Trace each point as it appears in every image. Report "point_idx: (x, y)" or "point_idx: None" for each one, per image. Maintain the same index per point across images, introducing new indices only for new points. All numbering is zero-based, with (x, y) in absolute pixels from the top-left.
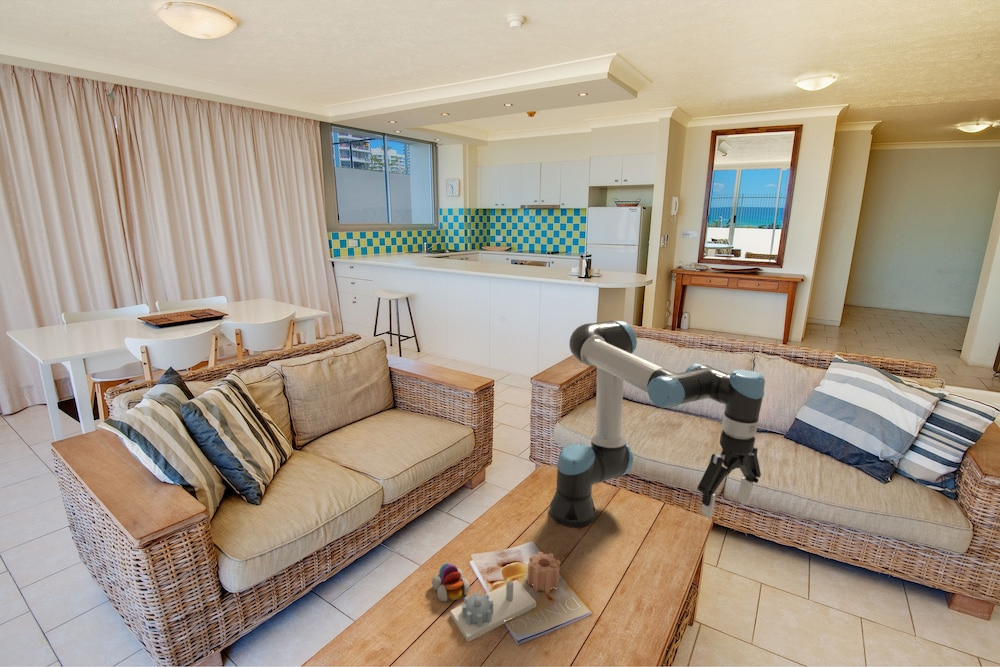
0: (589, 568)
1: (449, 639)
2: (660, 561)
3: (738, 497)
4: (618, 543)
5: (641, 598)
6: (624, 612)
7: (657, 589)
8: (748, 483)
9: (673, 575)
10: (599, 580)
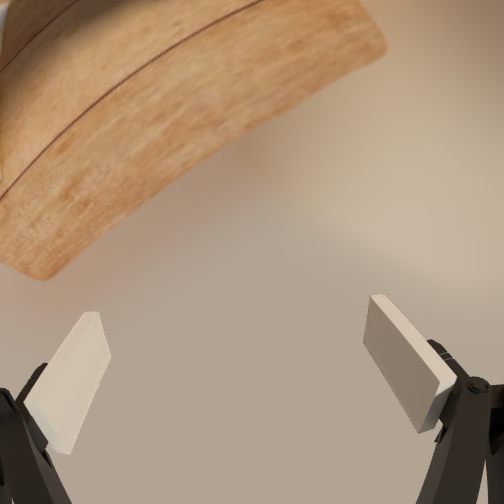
0: (43, 78)
1: None
2: (193, 95)
3: (375, 304)
4: (143, 20)
5: (83, 176)
6: (42, 195)
7: (127, 165)
8: (417, 415)
9: (189, 142)
10: (41, 112)
